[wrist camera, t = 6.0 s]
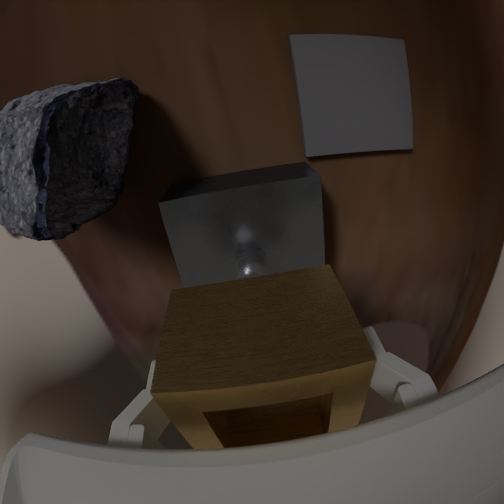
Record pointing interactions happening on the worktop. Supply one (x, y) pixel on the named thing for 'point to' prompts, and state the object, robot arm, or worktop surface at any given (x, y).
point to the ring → (262, 360)
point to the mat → (352, 93)
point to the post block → (245, 223)
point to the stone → (64, 156)
